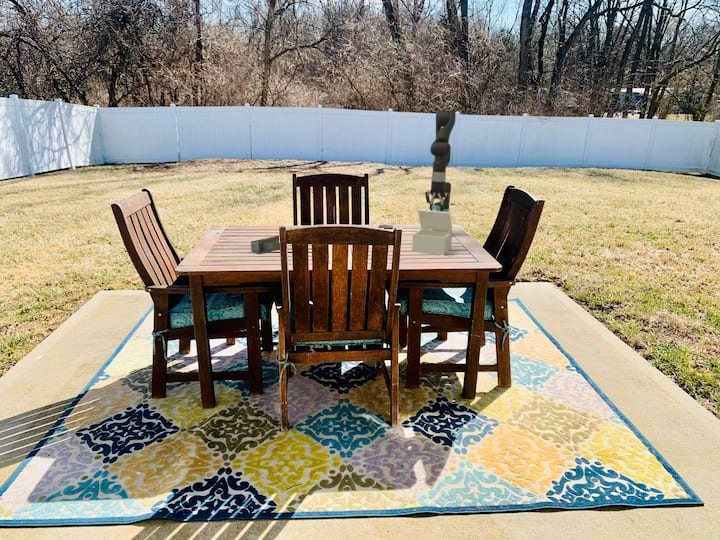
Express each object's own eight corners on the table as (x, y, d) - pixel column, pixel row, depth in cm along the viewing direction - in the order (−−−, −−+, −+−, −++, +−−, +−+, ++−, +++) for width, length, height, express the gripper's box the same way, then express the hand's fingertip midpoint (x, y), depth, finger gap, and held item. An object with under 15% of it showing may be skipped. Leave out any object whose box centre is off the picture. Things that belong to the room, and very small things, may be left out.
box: (420, 245, 291) (421, 228, 288) (450, 249, 284) (452, 232, 281) (412, 251, 278) (413, 234, 275) (443, 255, 271) (445, 237, 268)
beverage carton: (250, 251, 273) (249, 239, 271) (279, 245, 286) (278, 234, 284) (259, 254, 268) (258, 242, 266) (287, 248, 281) (287, 236, 279)
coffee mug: (374, 242, 296) (375, 225, 293) (385, 240, 301) (386, 224, 298) (387, 246, 287) (388, 229, 284) (398, 244, 292) (399, 227, 289)
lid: (421, 228, 288) (424, 221, 291) (452, 231, 281) (454, 224, 284) (417, 210, 276) (420, 202, 279) (449, 213, 269) (452, 205, 272)
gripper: (453, 180, 274) (450, 211, 279) (427, 178, 279) (426, 208, 284) (449, 181, 267) (447, 213, 272) (423, 180, 273) (422, 211, 278)
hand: (436, 210), depth 278 cm, fingers open, 5 cm apart
